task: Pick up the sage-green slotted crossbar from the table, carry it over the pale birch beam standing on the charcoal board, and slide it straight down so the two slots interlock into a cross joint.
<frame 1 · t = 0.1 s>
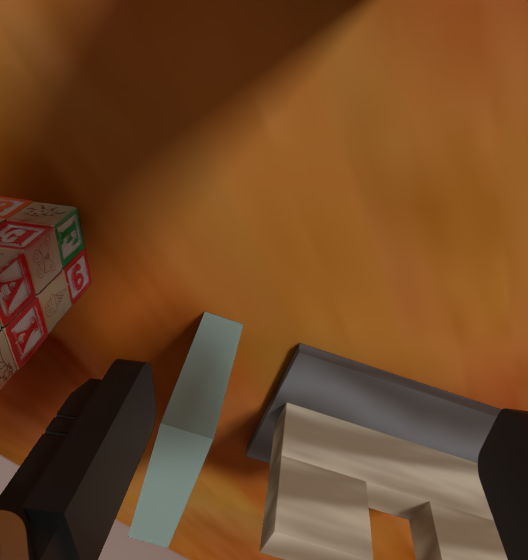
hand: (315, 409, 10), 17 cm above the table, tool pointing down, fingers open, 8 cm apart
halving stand: (379, 435, 36), on the table
sage crossbar: (202, 378, 35), on the table
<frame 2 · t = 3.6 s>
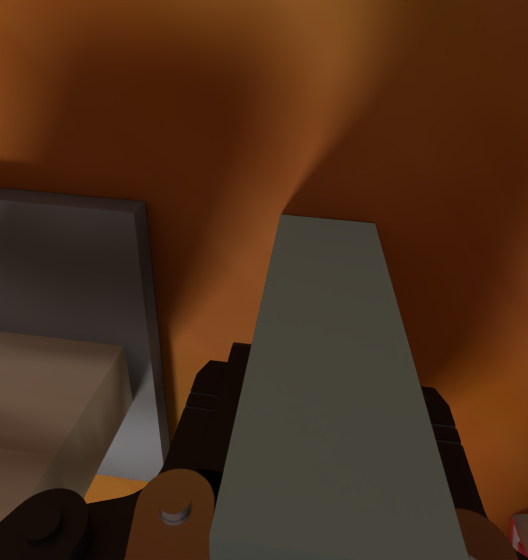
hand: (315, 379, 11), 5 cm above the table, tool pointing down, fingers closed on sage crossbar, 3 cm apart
sage crossbar: (304, 379, 17), on the table, touching gripper
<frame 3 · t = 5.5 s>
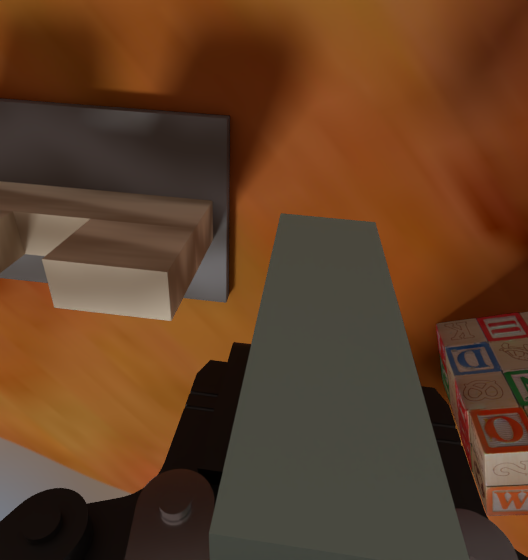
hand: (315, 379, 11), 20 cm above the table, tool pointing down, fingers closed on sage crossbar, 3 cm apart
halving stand: (98, 204, 31), on the table
sage crossbar: (304, 378, 17), point 16 cm above the table, touching gripper
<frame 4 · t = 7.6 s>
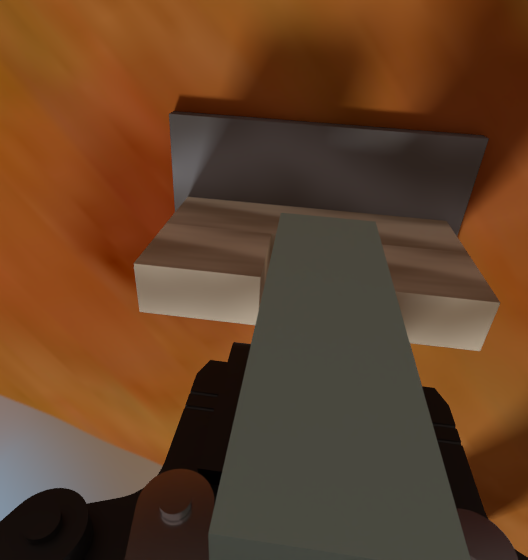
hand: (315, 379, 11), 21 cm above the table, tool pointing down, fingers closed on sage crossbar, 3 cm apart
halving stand: (312, 222, 31), on the table
sage crossbar: (305, 378, 17), point 16 cm above the table, touching gripper
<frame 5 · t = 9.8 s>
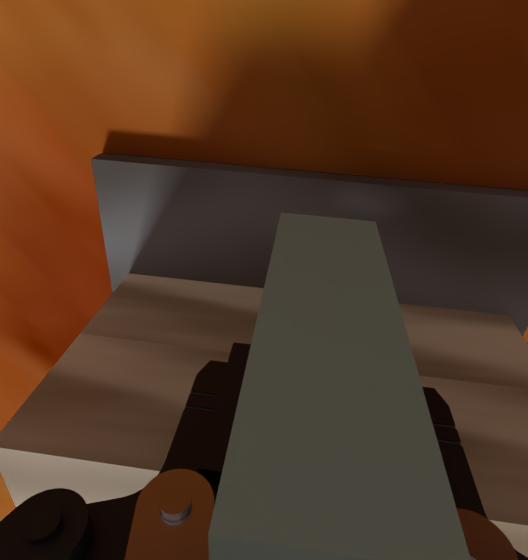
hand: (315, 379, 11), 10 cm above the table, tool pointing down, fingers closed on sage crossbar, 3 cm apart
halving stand: (309, 307, 21), on the table
sage crossbar: (305, 378, 17), point 5 cm above the table, touching gripper
when the fingers open (7 cm above the table, at t = 11.7 s): sage crossbar stays where it is, resting on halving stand.
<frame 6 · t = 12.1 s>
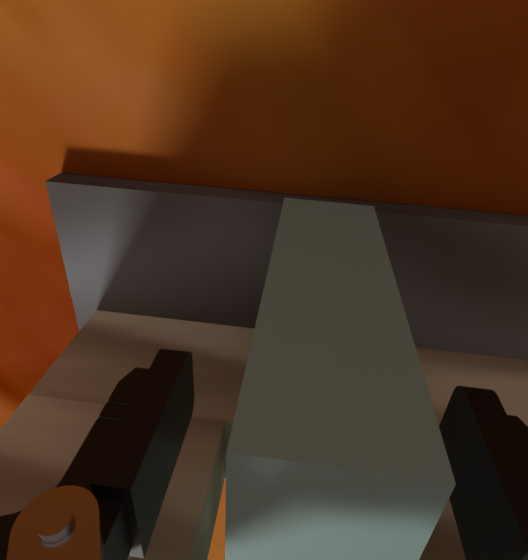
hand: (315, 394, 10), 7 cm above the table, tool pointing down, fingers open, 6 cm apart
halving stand: (305, 347, 19), on the table
sage crossbar: (306, 358, 18), point 1 cm above the table, touching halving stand
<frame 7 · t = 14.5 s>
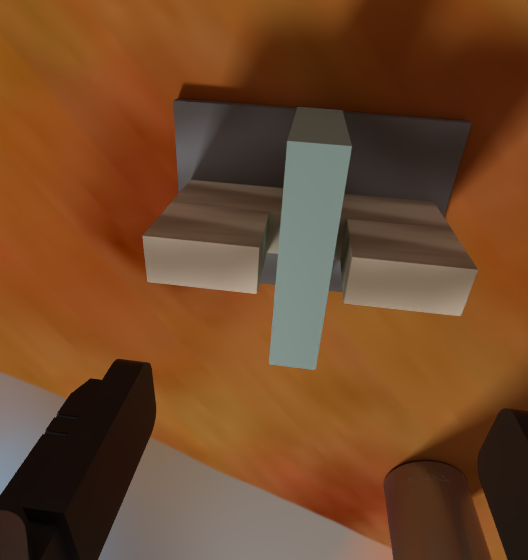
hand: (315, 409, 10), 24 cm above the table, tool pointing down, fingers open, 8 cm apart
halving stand: (307, 204, 32), on the table
sage crossbar: (308, 207, 31), point 1 cm above the table, touching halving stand
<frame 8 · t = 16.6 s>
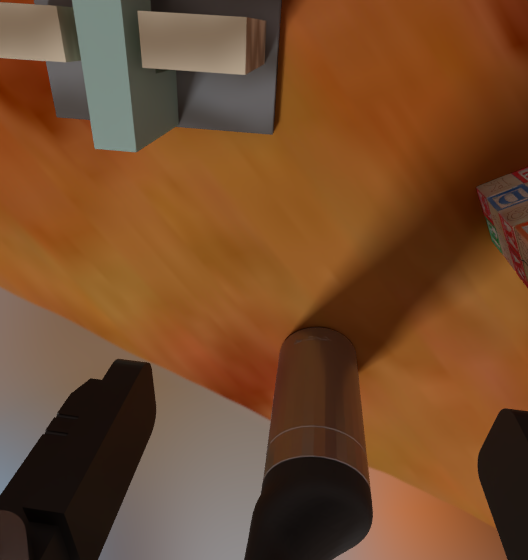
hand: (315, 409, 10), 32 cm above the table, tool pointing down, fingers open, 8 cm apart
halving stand: (160, 35, 35), on the table
sage crossbar: (156, 32, 34), point 1 cm above the table, touching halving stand
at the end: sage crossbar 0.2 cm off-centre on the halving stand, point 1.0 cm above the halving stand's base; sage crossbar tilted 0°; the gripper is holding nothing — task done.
